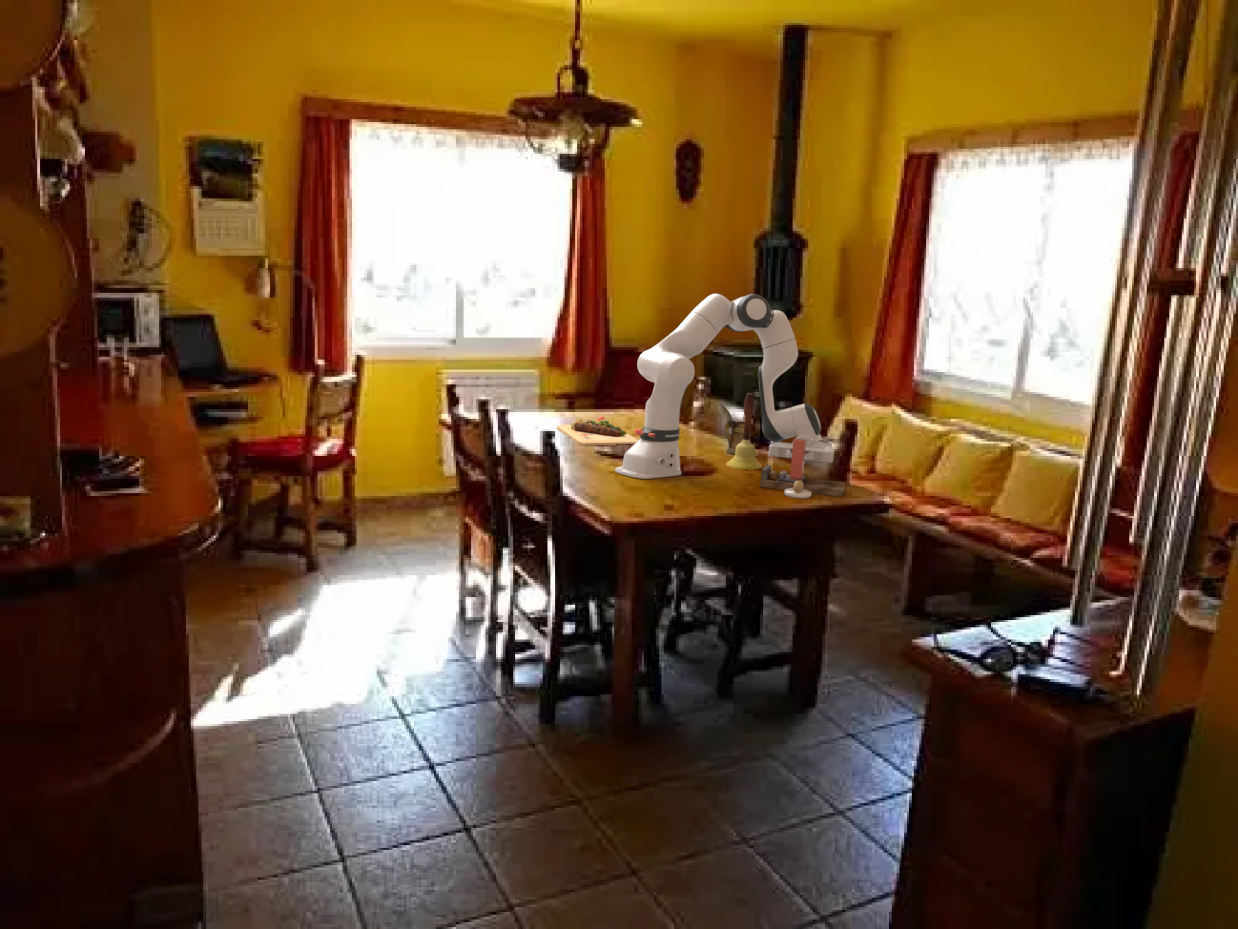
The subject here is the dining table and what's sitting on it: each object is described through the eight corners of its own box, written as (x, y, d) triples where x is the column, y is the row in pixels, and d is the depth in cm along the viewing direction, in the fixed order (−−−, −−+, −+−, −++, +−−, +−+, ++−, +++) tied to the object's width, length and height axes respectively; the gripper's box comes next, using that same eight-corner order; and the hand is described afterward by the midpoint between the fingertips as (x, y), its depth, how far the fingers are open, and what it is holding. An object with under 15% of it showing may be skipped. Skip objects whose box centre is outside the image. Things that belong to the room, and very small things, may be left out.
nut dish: (801, 499, 287) (802, 486, 286) (779, 494, 293) (780, 480, 292) (816, 496, 293) (817, 482, 292) (794, 490, 298) (795, 477, 297)
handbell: (752, 461, 338) (758, 390, 333) (768, 469, 327) (775, 396, 321) (720, 462, 334) (725, 390, 329) (735, 470, 323) (741, 396, 317)
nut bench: (760, 486, 301) (761, 470, 300) (765, 480, 310) (767, 464, 309) (841, 496, 294) (843, 480, 292) (844, 489, 303) (846, 473, 302)
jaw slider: (778, 482, 301) (782, 439, 298) (781, 478, 307) (785, 436, 304) (802, 485, 299) (806, 442, 296) (805, 481, 305) (809, 439, 302)
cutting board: (555, 429, 381) (556, 410, 380) (611, 428, 389) (612, 410, 388) (581, 447, 349) (582, 427, 348) (641, 446, 357) (643, 426, 355)
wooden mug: (711, 450, 353) (714, 401, 349) (744, 450, 357) (748, 402, 353) (721, 455, 345) (725, 405, 341) (755, 455, 349) (759, 406, 345)
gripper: (773, 436, 315) (765, 443, 302) (836, 443, 309) (831, 450, 296) (771, 454, 316) (763, 462, 304) (834, 462, 310) (829, 470, 297)
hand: (797, 456), depth 300 cm, fingers closed on jaw slider, 3 cm apart
